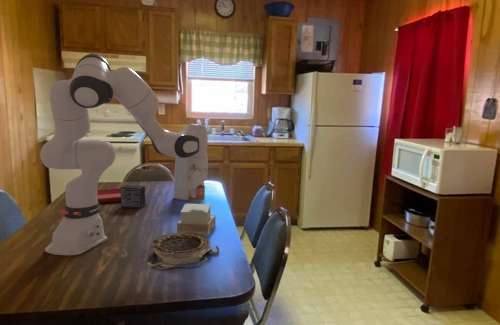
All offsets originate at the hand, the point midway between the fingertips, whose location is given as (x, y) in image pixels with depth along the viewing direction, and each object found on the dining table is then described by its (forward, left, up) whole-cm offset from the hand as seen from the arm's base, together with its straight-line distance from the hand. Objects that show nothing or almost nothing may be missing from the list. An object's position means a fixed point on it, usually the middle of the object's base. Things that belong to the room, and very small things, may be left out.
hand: (196, 195), depth 152 cm
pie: (-22, -1, -16) cm, 27 cm away
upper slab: (0, 0, -11) cm, 11 cm away
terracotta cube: (0, 0, -2) cm, 2 cm away
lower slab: (0, 0, -16) cm, 16 cm away
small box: (+23, +40, -15) cm, 49 cm away
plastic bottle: (+45, +18, -15) cm, 51 cm away
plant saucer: (+33, +58, -16) cm, 69 cm away
